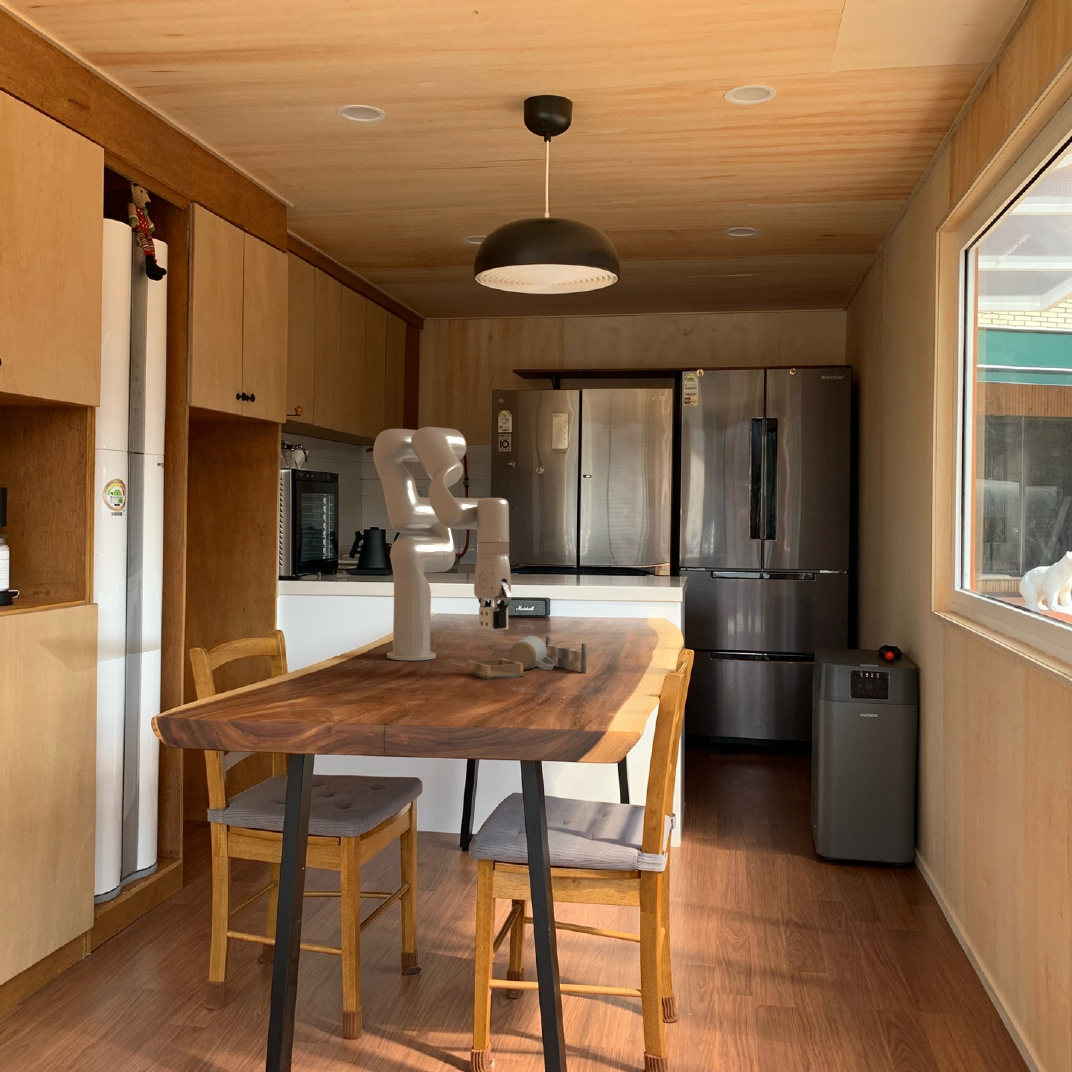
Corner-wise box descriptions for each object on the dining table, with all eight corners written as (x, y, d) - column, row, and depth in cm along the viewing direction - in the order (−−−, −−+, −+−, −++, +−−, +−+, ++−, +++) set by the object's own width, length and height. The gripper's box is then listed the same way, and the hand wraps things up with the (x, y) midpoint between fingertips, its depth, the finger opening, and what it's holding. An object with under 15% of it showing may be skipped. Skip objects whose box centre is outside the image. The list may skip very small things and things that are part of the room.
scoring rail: (544, 664, 264) (545, 636, 264) (548, 663, 264) (549, 636, 264) (582, 673, 249) (583, 644, 249) (587, 673, 250) (587, 643, 250)
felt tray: (467, 673, 246) (467, 660, 246) (502, 670, 251) (502, 658, 251) (487, 679, 238) (487, 666, 238) (523, 676, 243) (523, 663, 243)
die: (478, 628, 246) (478, 607, 246) (497, 627, 249) (497, 606, 249) (489, 630, 242) (489, 608, 242) (508, 629, 245) (508, 607, 245)
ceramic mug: (507, 669, 254) (508, 638, 253) (517, 665, 261) (518, 634, 261) (548, 673, 250) (550, 641, 250) (558, 668, 258) (559, 637, 258)
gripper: (461, 550, 251) (462, 626, 251) (497, 550, 236) (498, 630, 236) (488, 550, 255) (489, 624, 255) (525, 550, 240) (526, 629, 240)
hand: (493, 626), depth 245 cm, fingers closed on die, 5 cm apart
